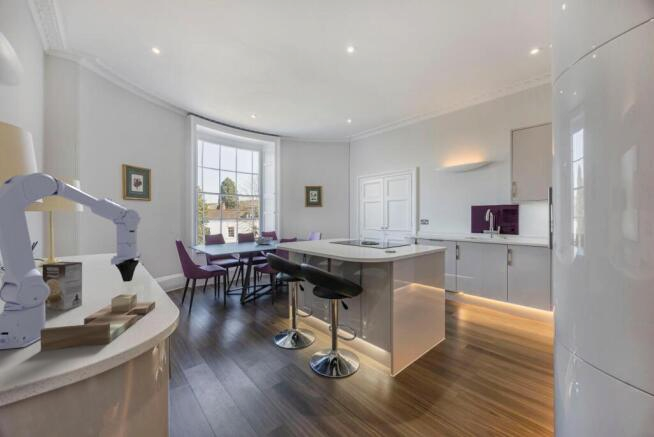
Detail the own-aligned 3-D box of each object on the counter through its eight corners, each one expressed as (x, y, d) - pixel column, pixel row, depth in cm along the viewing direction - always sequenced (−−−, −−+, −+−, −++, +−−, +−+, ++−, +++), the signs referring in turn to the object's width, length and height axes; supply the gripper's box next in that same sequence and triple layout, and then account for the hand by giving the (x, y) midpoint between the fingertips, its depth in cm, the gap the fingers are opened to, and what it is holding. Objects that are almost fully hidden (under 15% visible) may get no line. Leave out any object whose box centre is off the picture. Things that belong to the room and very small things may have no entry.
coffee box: (41, 310, 91) (40, 264, 91) (61, 304, 97) (61, 261, 97) (64, 310, 90) (64, 264, 90) (83, 304, 96) (83, 261, 96)
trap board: (107, 343, 66) (107, 324, 66) (40, 350, 62) (40, 329, 62) (155, 306, 93) (155, 293, 93) (110, 310, 90) (110, 295, 90)
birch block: (129, 310, 84) (129, 297, 84) (111, 311, 83) (111, 299, 83) (136, 305, 89) (136, 293, 89) (120, 306, 88) (120, 294, 88)
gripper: (126, 241, 98) (127, 277, 99) (100, 245, 84) (100, 287, 84) (146, 241, 100) (147, 276, 100) (124, 245, 85) (124, 285, 86)
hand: (127, 281), depth 92 cm, fingers closed
